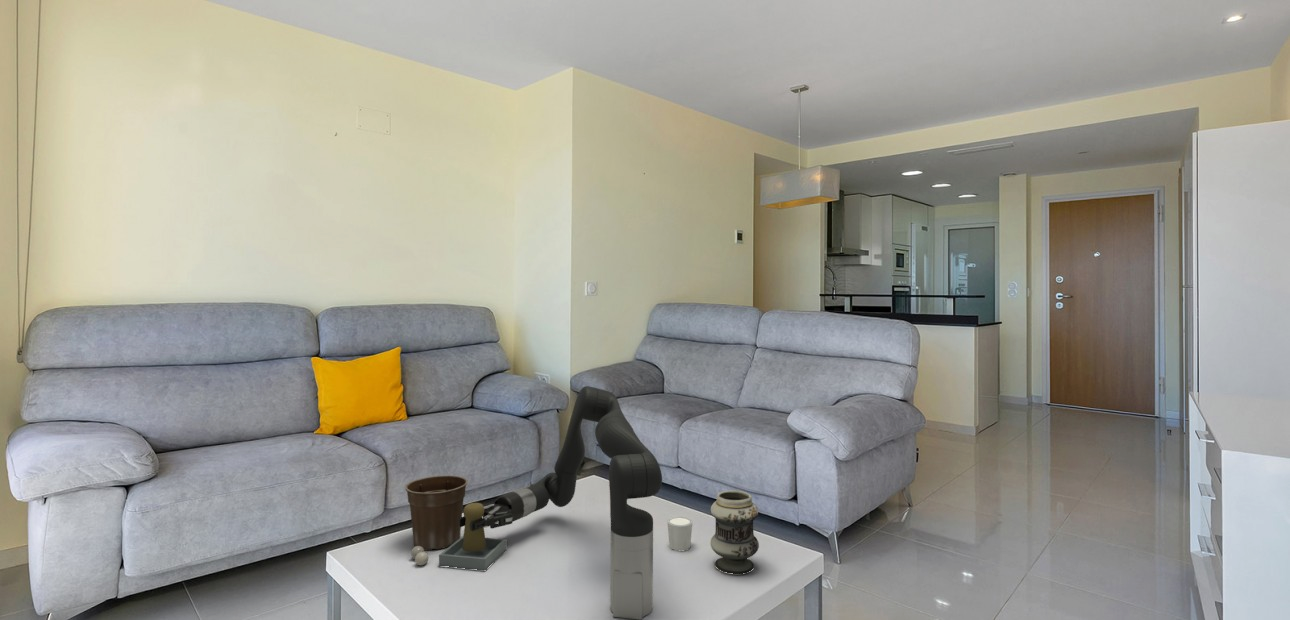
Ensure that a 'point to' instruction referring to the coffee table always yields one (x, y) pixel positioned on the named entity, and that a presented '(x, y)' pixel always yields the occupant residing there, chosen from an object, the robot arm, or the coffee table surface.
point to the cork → (477, 537)
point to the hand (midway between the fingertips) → (465, 524)
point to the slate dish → (472, 555)
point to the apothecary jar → (734, 531)
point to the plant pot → (436, 510)
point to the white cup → (679, 533)
